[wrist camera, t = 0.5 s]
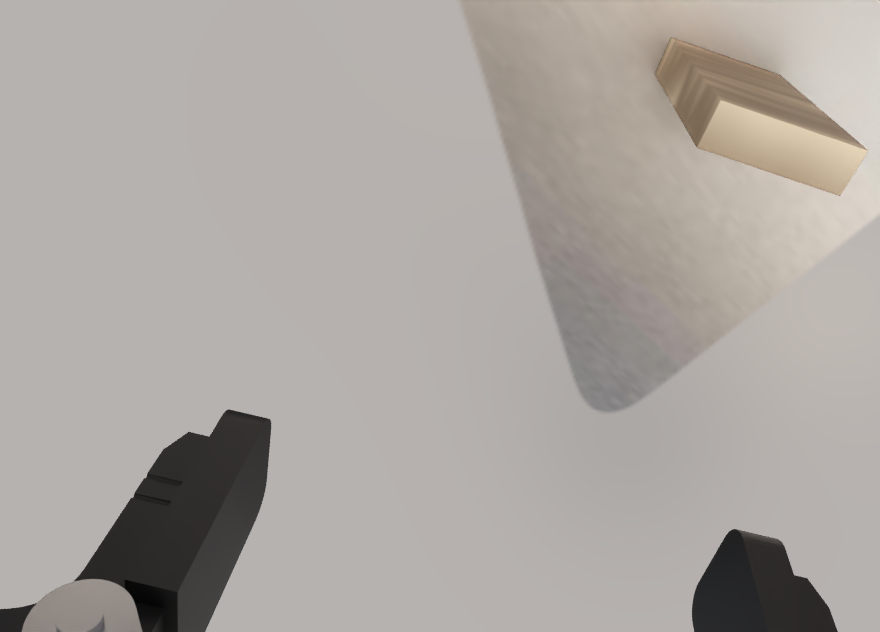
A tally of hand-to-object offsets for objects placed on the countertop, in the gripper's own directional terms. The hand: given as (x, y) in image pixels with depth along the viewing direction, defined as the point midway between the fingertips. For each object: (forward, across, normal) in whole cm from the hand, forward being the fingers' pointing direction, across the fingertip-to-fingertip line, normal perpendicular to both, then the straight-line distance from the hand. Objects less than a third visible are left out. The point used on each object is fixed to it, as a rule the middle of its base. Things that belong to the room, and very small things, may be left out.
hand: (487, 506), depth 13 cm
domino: (+25, -8, -3) cm, 26 cm away
